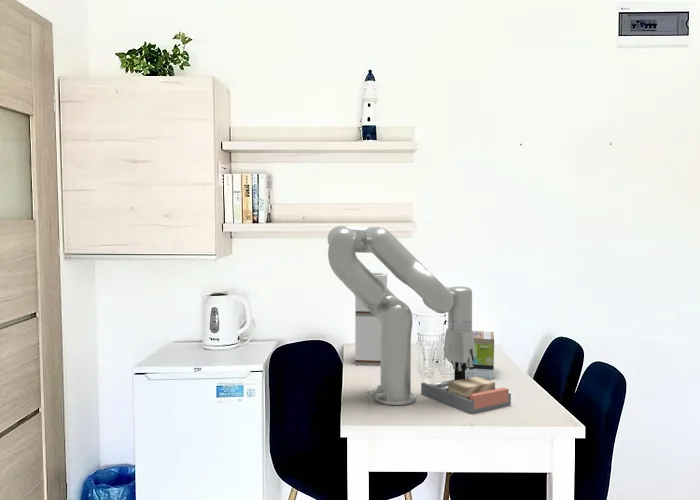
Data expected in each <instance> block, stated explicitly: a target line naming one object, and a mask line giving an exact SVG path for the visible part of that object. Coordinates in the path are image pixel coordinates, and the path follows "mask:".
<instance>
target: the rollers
mask: <svg viewBox="0 0 700 500" xmlns="http://www.w3.org/2000/svg"><path fill="white" fill-rule="evenodd" d="M450 381H454V379H449V380H444V381H439V382H435V383H434V382H433V383H428V384H429V385H432V386H435V387H437V388H440V389H442V390H445V391H448V382H450ZM448 392H449V391H448ZM450 393H452V392H450ZM453 394H454V393H453ZM456 395H457V394H456ZM458 396H460V395H458ZM461 397H462V396H461ZM464 398H465V397H464ZM466 399H469V400H470V397H467V398H466Z"/></svg>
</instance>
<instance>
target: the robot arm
mask: <svg viewBox="0 0 700 500" xmlns="http://www.w3.org/2000/svg"><path fill="white" fill-rule="evenodd" d="M327 244H328V250H327V257H328V263H329V266H330V269H331V270H332V272H333V274H334V275H335V276H336V277H337V279H339V281H340V282H342V283H343V284H344V285H345V286H346V288H348V289H349V291H351V292H352V294H353V295H354V296H355V297H356V298H357V299H358V300H359V301H360V302H361V303H362V304H363V305H364V306H365V307H366V308H367V309H368V310H369V311H370V312H371V313H372V314H373V315H374V316H375V317H376V318H377V319H378V320H379V321H380V322H381V323H382V327H381V343H380V351H381V366H380V385H377V388H376V389H374V390H367V393H366V396H367V397H368V398H372V397H375V400H376V401H377V402H378V403H380V404H383V405H387V406H405V405H410V404H412V403H414V402H416V395H415V394H414V393H412V391H411V390H412V389H411V387H412V386H411V385H412V383H411V382H412V381H411V380H412V379H411V377H412V374H411V371H412V370H411V369H412V368H411V366H412V365H411V363H412V351H411V349H412V348H411V347H412V346H411V345H412V331H413V329H412V328H413V319H414V318H413V314H412V310H411V309H410V307H409V306H408V304H406V303H405V302H404V301H403V300H401V299H399V298H398V297H397V295H395V294H394V293H393V292H392V291H391V290H390V289H389V288H388V286H387V287H386V286H385V285H384V284H383V282H382V281H381V280H380V279H379V278H377V277H376V276H374V275H373V274H372V273H373V272H371V271H370V269H368V268H367V267H366V266H365V264H364V263H362V261H361V260H360V259H359V258H358V257H357V253H364V254H365V253H368V254H371V253H372V254H373V256H374V257H375V258H377V259H378V261H380V263H382V264H383V265H384V266H385V268H386V269H388V271H390V272H391V273H392V275H394V276H395V278H396V279H398V280H399V281H400V282H402V283H403V284H405V286H408V287H409V288H410V289H412V290H413V291H414V292H415V293H416V294H417V295H418V296H419V297H421V299H422V302H423V303H424V305H425V306H426V308H428V309H430V310H431V311H433V312H435V313H437V314H446V313H447V318H448V319H447V328H446V330H445V333H444V334H445V336H444V343H443V347H444V348H443V356H444V358H445V360H447V361H448V362H449V363H450V364H451V366H452V369H453V370H454V372H453V373H454V375H453V377H454V379H453V380H454V381H456V380H461V379H465V378H466V370H467V368H468V367H473V361H474V359H475V344H474V336H473V331H474V330H473V291H472V289H471V287H468V286H458V285H457V286H452V287H449V286H448V287H447V286H445V285H444V284H443V283H442V282H441V281H440V280H439V279H438V278H437V277H436V276H435V275H434V274H433V273H432V272H431V271H430V270H428V269H427V268H426V266H424V265H423V264H422V263H421V262H420V261H419V260H418V259H417V258H416V257H415V255H413V254H412V253H411V252H410V251H409V250H408V248H406V246H404V245H403V244H402V243H401V242H400V241H399V240H398V238H396V236H395V235H394V234H393V233H391V232H390V231H389V230H388V229H386V228H385V227H380V226H379V227H378V226H349V225H348V226H347V225H337V226H335V227H333V228H332V229H331V230H330V231H329V233H328V235H327Z"/></svg>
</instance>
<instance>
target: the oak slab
mask: <svg viewBox="0 0 700 500" xmlns="http://www.w3.org/2000/svg"><path fill="white" fill-rule="evenodd" d="M494 389H496V382H495V381H492V380H490V379H483V378H480V377H472V378H467V377H466V379H461V380H456V381H450V382H448V391H449V392H452V393H454V394H457V395H460V396H462V397H465V398H467V397H470V394H474V393H479V392H484V391H489V390H494Z"/></svg>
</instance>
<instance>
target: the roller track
mask: <svg viewBox="0 0 700 500" xmlns="http://www.w3.org/2000/svg"><path fill="white" fill-rule="evenodd" d="M465 379H467V377H465ZM429 384H430V383H427V382H421V384H420V388H421V389H420V390H421V395H424V396H426V397H428V398H431V399H434V400H436V401H438V402H441V403H444V404H445V405H448V406H450V407H453V408H455V409H458V410H461V411H463V412H465V413H467V414H471V415H473V414H478V413H482V412H487V411H491V410H495V409H500V408H505V407H508V406H511V405H512V393H510V392H509V396H508V402H506V403H501V404H497V405H492V406H488V407H483V408H479V409H474V401H472V400H469V399H466V398H464V397H461V396H458V395H456V394H453V393H450V392H448V391H445V390H442V389H440V388H437V387H435V386H432V385H429Z"/></svg>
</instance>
